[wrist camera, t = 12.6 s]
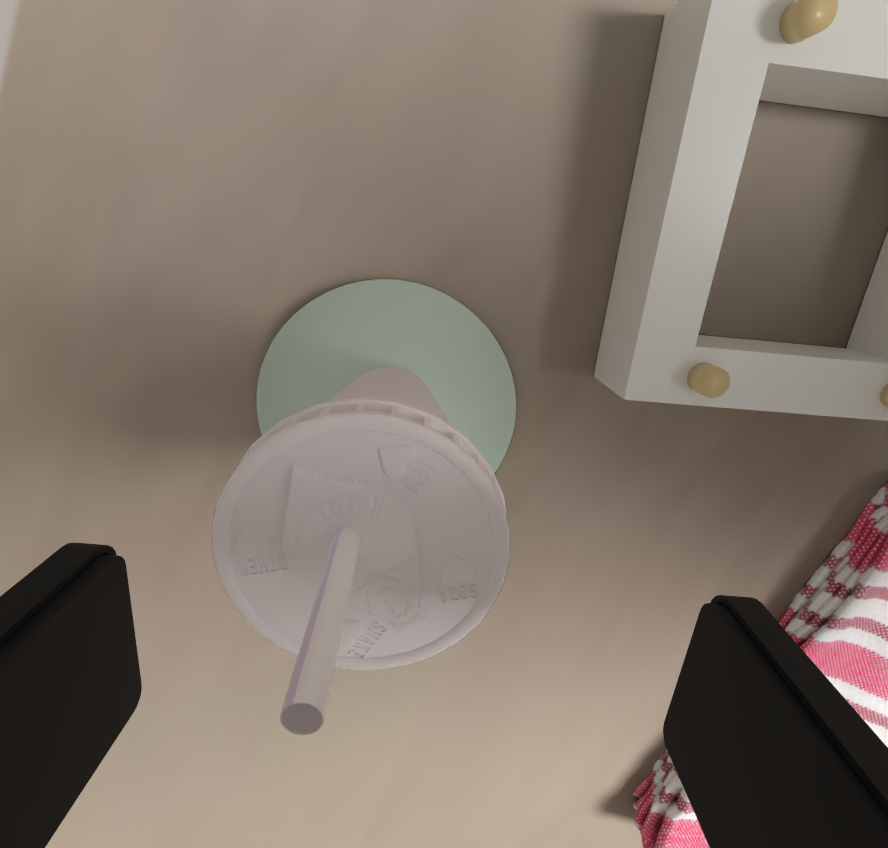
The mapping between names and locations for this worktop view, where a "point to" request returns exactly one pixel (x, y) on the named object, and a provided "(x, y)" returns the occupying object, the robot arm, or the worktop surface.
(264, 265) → the worktop surface
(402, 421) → the smoothie
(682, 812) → the dish towel
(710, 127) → the socket block
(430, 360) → the coaster
